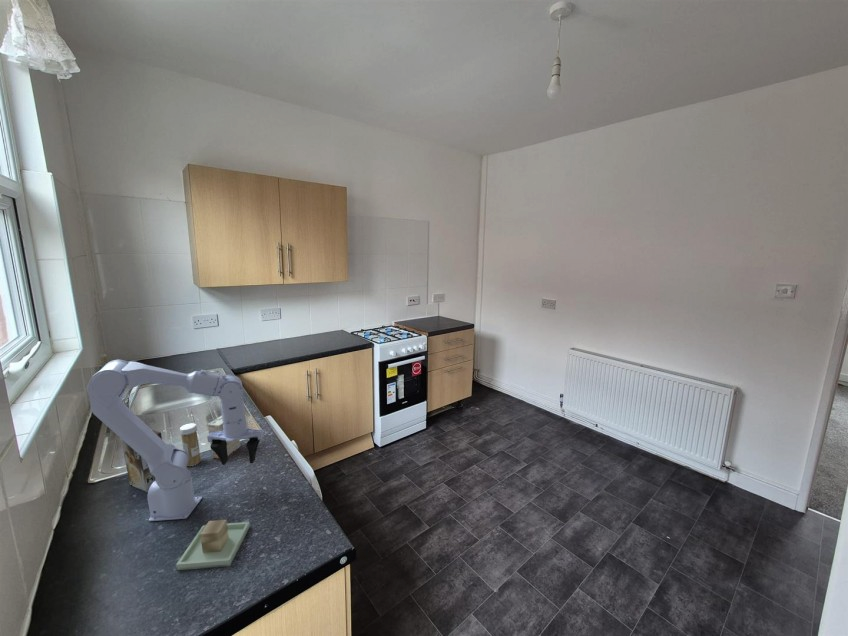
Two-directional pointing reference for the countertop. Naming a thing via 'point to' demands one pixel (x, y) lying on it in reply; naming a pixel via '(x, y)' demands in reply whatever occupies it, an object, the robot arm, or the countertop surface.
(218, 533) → the beech block
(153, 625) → the countertop surface
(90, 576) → the countertop surface
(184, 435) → the sprinkles bottle
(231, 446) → the supplement box
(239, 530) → the tray
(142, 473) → the coffee box
